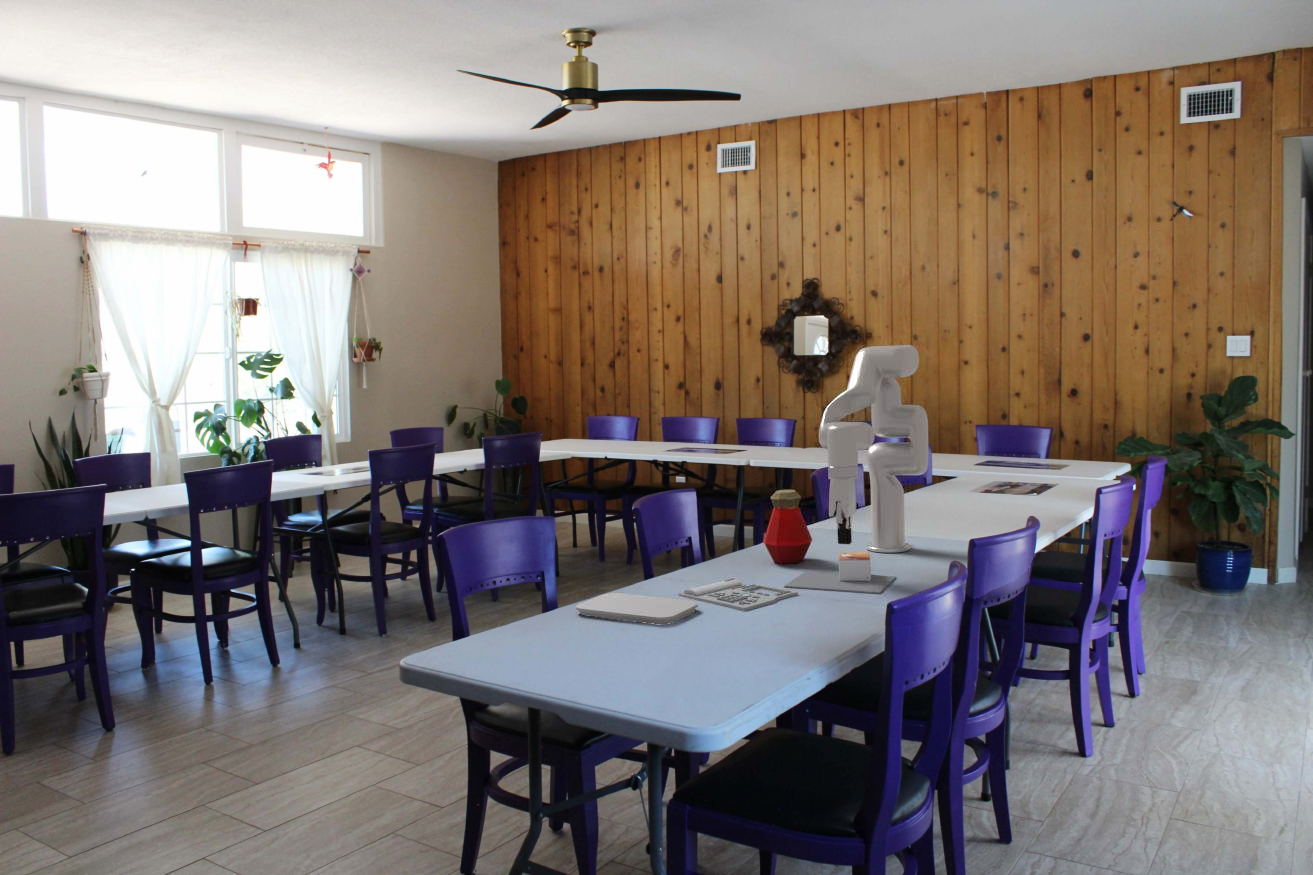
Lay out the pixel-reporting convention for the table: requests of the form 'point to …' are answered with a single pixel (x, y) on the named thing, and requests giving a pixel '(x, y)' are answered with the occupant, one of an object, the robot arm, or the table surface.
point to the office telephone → (737, 594)
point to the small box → (854, 566)
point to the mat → (839, 583)
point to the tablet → (637, 608)
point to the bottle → (787, 529)
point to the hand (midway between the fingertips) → (844, 543)
